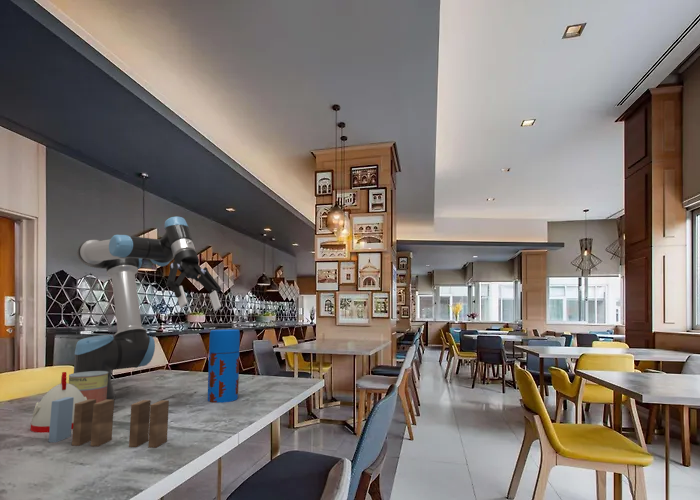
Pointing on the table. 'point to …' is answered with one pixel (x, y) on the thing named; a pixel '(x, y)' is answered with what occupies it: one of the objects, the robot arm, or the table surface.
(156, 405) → the domino
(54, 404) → the domino
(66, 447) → the table surface
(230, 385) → the thermos
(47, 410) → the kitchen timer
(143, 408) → the domino
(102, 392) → the canned food
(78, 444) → the domino
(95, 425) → the domino
